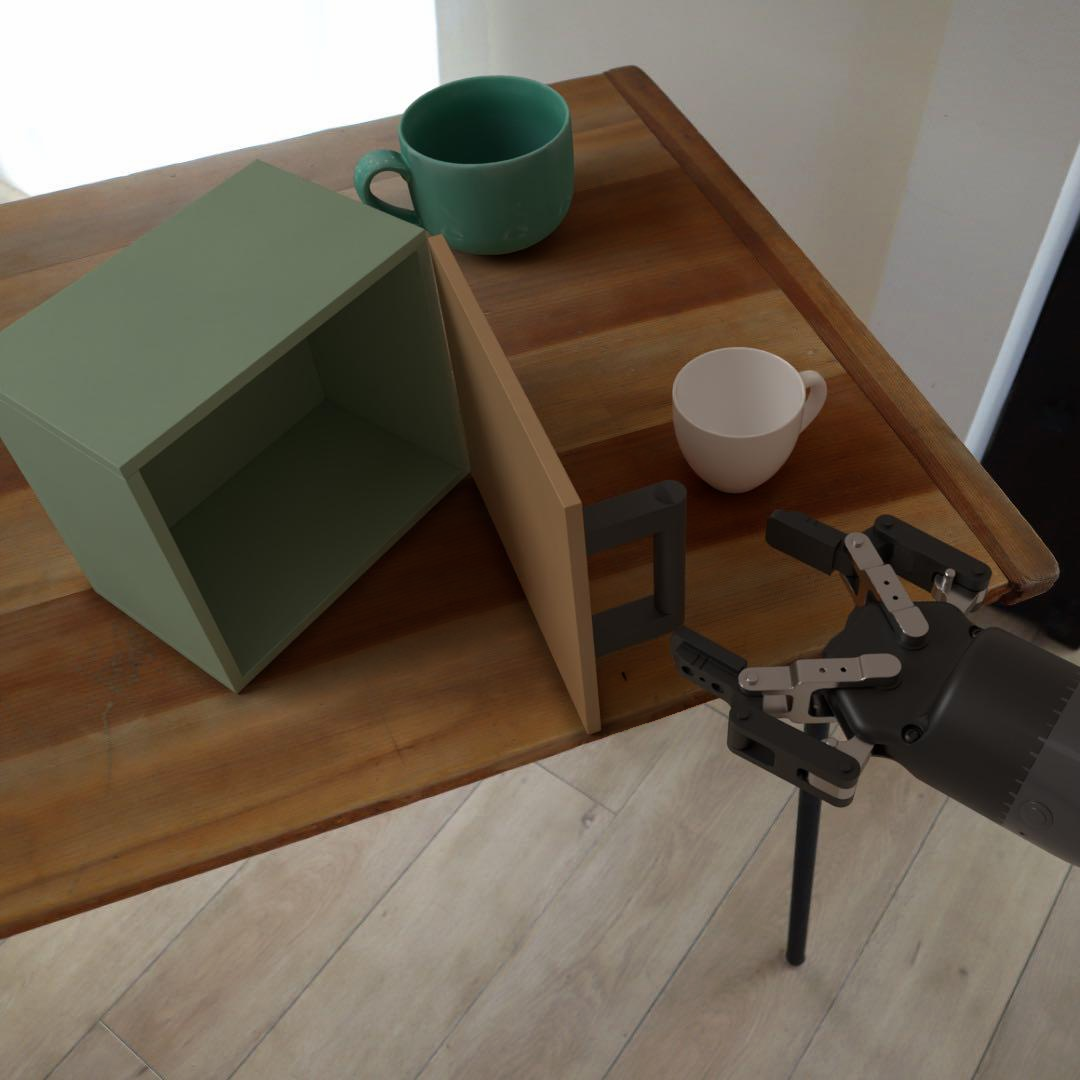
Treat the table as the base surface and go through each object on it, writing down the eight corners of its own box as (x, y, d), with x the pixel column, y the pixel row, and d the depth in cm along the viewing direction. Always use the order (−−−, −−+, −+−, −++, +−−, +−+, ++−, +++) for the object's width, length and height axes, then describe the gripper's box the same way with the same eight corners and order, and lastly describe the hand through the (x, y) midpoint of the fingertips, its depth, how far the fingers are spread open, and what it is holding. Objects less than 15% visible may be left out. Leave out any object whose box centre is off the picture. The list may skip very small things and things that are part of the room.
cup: (650, 451, 76) (649, 372, 71) (785, 399, 78) (794, 319, 73) (709, 532, 71) (712, 454, 66) (852, 475, 73) (866, 395, 68)
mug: (556, 168, 97) (547, 59, 90) (597, 256, 89) (590, 144, 82) (359, 210, 96) (334, 103, 89) (383, 304, 88) (357, 194, 81)
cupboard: (471, 471, 76) (425, 228, 62) (237, 694, 66) (119, 468, 52) (328, 396, 82) (257, 158, 68) (94, 591, 72) (-47, 362, 58)
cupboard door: (568, 445, 76) (546, 203, 63) (701, 694, 64) (710, 460, 50) (472, 475, 75) (427, 237, 61) (587, 735, 63) (564, 508, 49)
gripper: (959, 920, 49) (639, 725, 56) (1094, 684, 56) (793, 536, 63) (997, 840, 43) (636, 634, 51) (1143, 587, 50) (805, 437, 57)
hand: (723, 580), depth 57 cm, fingers open, 8 cm apart
